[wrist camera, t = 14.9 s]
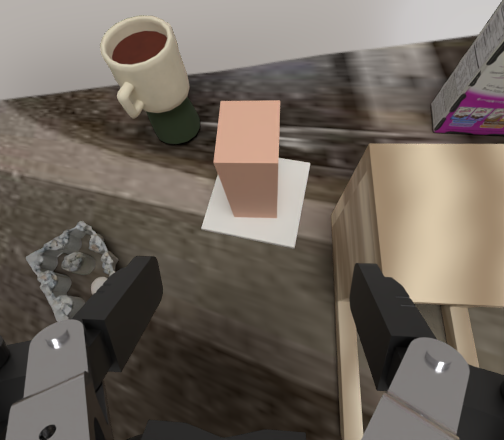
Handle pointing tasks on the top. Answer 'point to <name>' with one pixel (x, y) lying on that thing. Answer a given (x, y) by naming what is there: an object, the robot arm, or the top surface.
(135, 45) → the character mug
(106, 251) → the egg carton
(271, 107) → the block
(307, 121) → the top surface
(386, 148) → the shelf lane
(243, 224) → the mat
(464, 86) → the candy bar box
